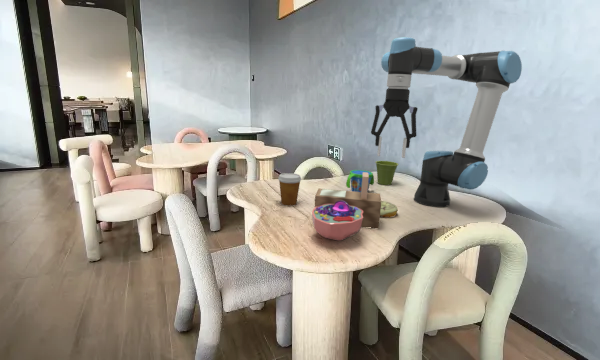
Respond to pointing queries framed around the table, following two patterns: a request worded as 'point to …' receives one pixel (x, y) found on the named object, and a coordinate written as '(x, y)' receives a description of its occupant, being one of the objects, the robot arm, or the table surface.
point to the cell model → (337, 220)
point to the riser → (353, 203)
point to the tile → (364, 185)
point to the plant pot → (385, 172)
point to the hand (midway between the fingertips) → (390, 156)
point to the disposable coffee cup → (289, 188)
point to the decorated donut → (388, 209)
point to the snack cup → (358, 180)
